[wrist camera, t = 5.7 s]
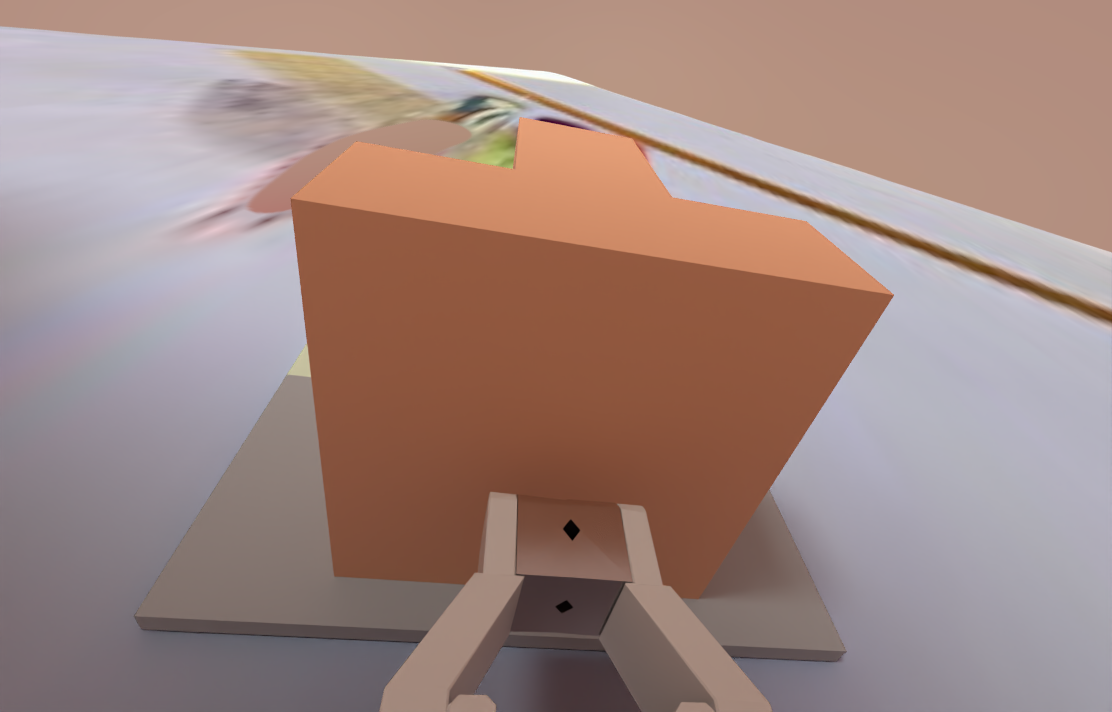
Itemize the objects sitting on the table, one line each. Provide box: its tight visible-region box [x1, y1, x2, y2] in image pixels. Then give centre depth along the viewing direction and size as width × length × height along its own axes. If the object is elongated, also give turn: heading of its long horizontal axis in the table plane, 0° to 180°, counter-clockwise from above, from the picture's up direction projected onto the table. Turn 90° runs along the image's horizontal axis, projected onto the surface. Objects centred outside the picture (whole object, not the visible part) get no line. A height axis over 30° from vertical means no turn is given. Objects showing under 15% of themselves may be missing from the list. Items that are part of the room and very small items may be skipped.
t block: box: [291, 117, 894, 599], centre depth 15 cm, size 10×9×10 cm
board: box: [134, 344, 847, 661], centre depth 21 cm, size 18×20×1 cm
